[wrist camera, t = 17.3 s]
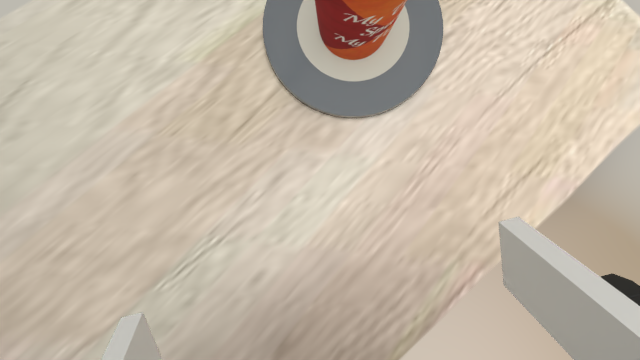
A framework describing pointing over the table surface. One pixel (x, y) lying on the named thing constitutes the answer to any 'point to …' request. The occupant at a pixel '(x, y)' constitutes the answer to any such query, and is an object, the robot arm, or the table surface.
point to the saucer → (351, 75)
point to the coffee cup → (356, 25)
